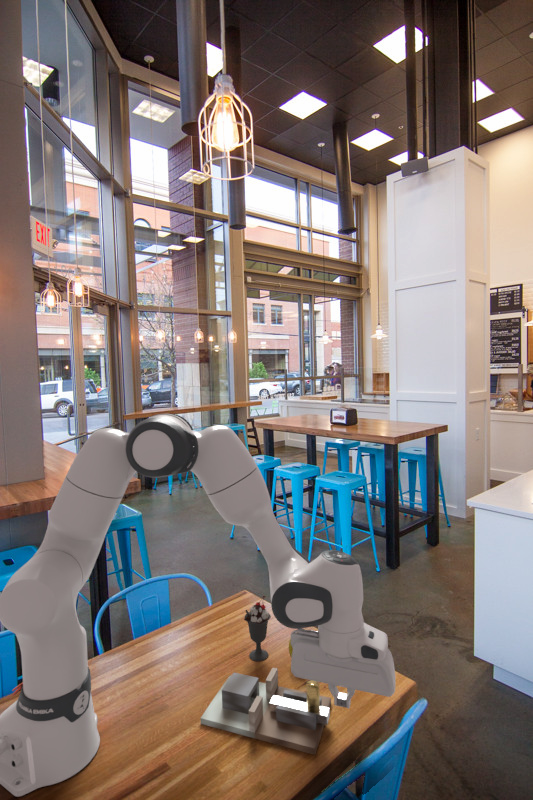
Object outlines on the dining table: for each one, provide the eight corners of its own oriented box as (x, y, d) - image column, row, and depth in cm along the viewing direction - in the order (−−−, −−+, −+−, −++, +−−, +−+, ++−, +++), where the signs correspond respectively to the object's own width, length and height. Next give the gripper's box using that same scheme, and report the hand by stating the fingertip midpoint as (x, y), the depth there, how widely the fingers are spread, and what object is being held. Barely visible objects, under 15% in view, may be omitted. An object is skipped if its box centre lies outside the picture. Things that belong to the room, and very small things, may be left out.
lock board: (331, 703, 94) (330, 679, 94) (315, 754, 81) (314, 727, 81) (229, 680, 103) (229, 658, 102) (200, 723, 89) (199, 698, 89)
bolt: (329, 716, 88) (328, 683, 88) (326, 725, 86) (326, 691, 86) (273, 703, 93) (272, 671, 92) (269, 711, 90) (268, 679, 90)
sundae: (276, 652, 113) (275, 595, 112) (262, 666, 107) (260, 606, 107) (255, 644, 116) (253, 589, 116) (240, 658, 111) (238, 600, 110)
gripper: (285, 635, 86) (287, 703, 87) (393, 654, 79) (394, 729, 80) (294, 619, 92) (296, 683, 93) (395, 635, 85) (396, 705, 85)
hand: (342, 704), depth 86 cm, fingers closed
